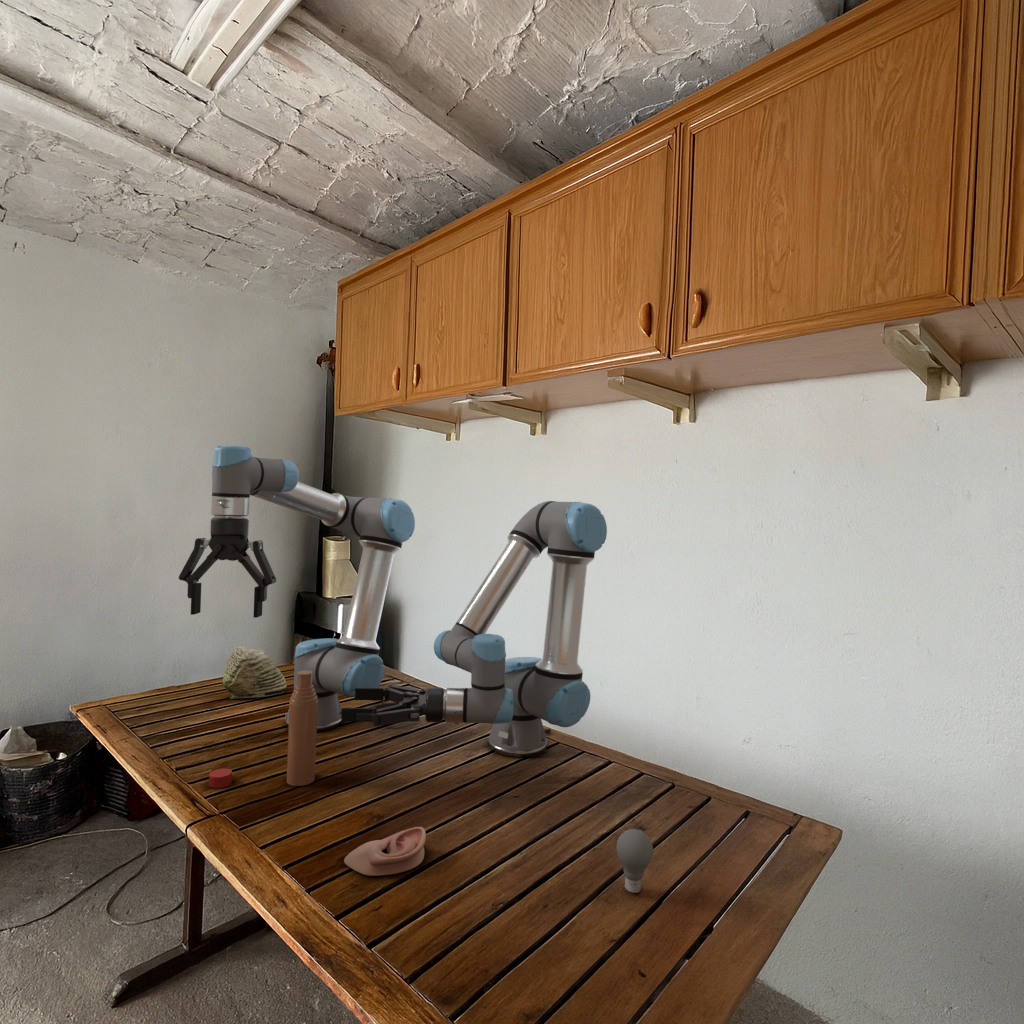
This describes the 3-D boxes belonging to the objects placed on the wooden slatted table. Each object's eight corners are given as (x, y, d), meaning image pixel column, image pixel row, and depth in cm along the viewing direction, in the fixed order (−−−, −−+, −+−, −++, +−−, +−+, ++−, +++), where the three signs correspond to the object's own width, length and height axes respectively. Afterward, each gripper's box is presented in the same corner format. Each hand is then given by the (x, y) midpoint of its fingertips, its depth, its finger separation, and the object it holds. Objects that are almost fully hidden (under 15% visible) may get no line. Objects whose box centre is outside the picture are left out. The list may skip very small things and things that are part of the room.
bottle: (281, 779, 141) (285, 671, 141) (306, 771, 145) (310, 667, 145) (294, 788, 137) (298, 677, 136) (319, 780, 141) (323, 673, 141)
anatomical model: (336, 847, 108) (365, 815, 119) (335, 870, 108) (364, 836, 119) (410, 859, 105) (432, 825, 116) (409, 883, 105) (431, 846, 116)
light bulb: (610, 879, 108) (613, 822, 108) (644, 879, 109) (647, 822, 109) (619, 902, 102) (622, 840, 102) (655, 901, 103) (658, 840, 103)
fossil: (218, 695, 195) (220, 647, 195) (278, 685, 208) (279, 640, 207) (228, 703, 189) (230, 653, 188) (289, 692, 201) (290, 645, 201)
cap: (207, 789, 135) (207, 778, 135) (210, 780, 139) (210, 769, 139) (230, 787, 136) (231, 776, 136) (232, 777, 141) (233, 767, 141)
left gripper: (163, 515, 133) (159, 615, 134) (280, 520, 133) (277, 620, 133) (182, 514, 141) (179, 609, 141) (293, 519, 140) (290, 614, 141)
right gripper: (439, 743, 130) (334, 742, 129) (447, 702, 154) (360, 701, 154) (440, 707, 129) (335, 706, 129) (448, 672, 154) (360, 671, 154)
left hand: (226, 615), depth 137 cm, fingers open, 13 cm apart
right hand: (348, 703), depth 141 cm, fingers open, 13 cm apart
